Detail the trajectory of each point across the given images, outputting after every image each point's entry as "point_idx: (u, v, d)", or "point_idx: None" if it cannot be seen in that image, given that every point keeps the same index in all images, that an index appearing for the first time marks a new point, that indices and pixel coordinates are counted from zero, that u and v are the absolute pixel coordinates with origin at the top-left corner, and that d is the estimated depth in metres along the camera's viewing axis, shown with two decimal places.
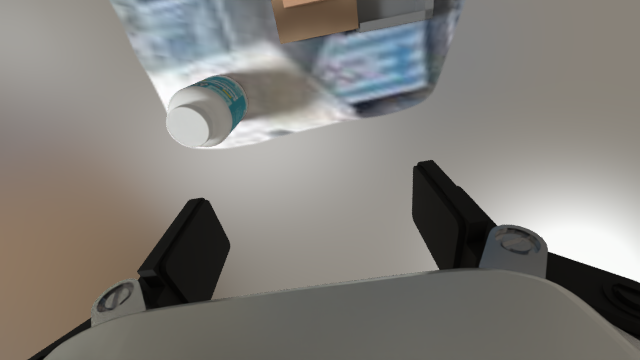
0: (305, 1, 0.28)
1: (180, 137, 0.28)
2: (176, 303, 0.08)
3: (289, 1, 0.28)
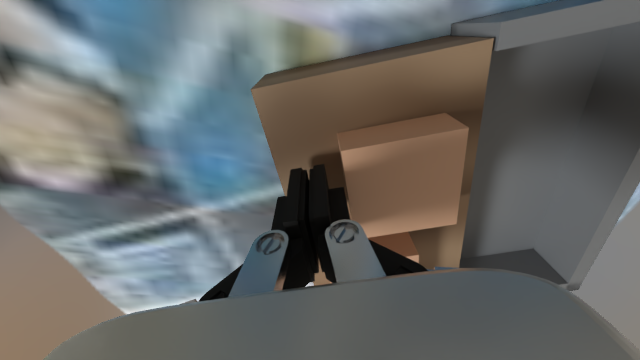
0: None
1: None
2: (306, 255, 0.09)
3: None
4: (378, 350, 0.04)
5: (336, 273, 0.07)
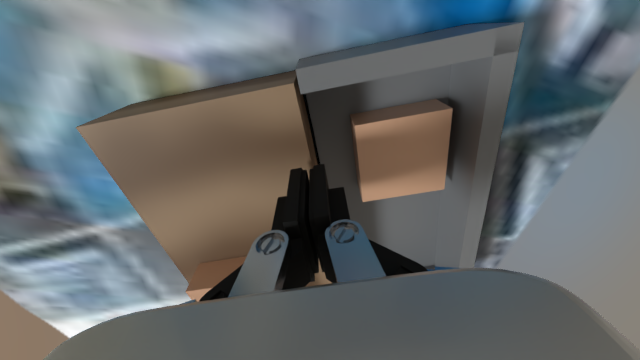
0: None
1: None
2: (306, 255, 0.09)
3: None
4: (378, 350, 0.04)
5: (336, 273, 0.07)
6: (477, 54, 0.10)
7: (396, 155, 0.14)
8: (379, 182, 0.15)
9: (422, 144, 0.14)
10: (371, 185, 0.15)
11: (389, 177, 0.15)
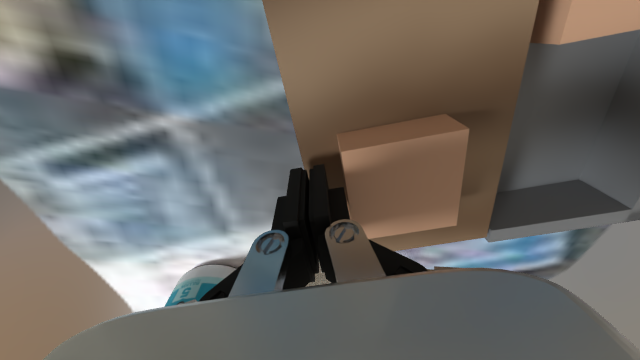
0: (405, 231, 0.12)
1: None
2: (306, 255, 0.09)
3: (368, 231, 0.12)
4: (378, 350, 0.04)
5: (336, 273, 0.07)
6: None
7: None
8: (596, 6, 0.10)
9: None
10: (582, 12, 0.11)
11: None
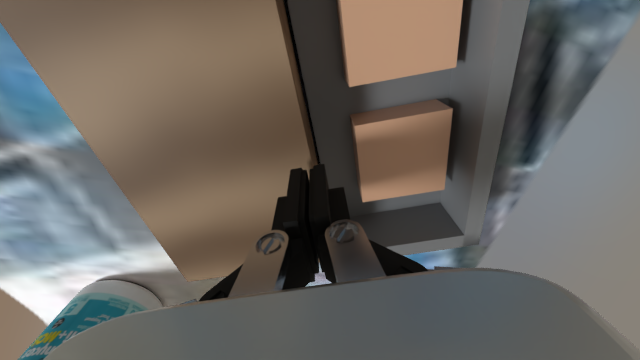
0: None
1: None
2: (306, 255, 0.09)
3: None
4: (378, 350, 0.04)
5: (336, 273, 0.07)
6: None
7: (393, 6, 0.10)
8: (371, 54, 0.11)
9: None
10: (359, 59, 0.11)
11: (383, 44, 0.11)
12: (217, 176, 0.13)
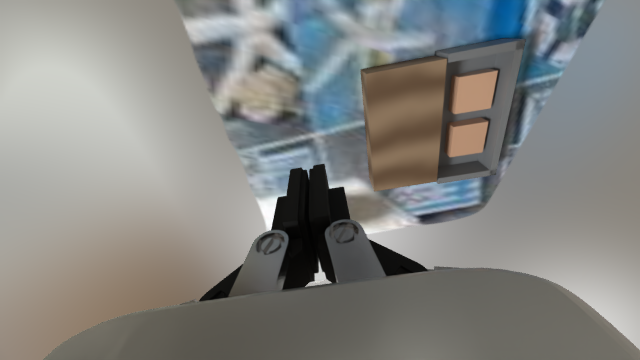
0: None
1: None
2: (306, 255, 0.09)
3: None
4: (378, 350, 0.04)
5: (336, 273, 0.07)
6: (510, 49, 0.30)
7: (473, 91, 0.34)
8: (463, 104, 0.35)
9: (484, 86, 0.34)
10: (460, 105, 0.35)
11: (468, 101, 0.35)
12: (406, 144, 0.36)
